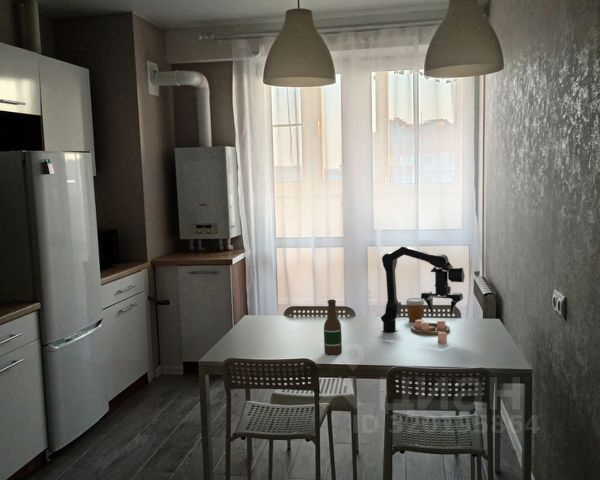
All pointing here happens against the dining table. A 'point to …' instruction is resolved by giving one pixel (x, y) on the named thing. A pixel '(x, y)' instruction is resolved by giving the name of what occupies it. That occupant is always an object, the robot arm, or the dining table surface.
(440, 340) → the bead
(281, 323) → the dining table surface
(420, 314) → the beer glass
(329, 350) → the beer bottle
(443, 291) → the robot arm
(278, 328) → the dining table surface
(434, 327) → the tray
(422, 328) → the seated bead
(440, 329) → the bead
